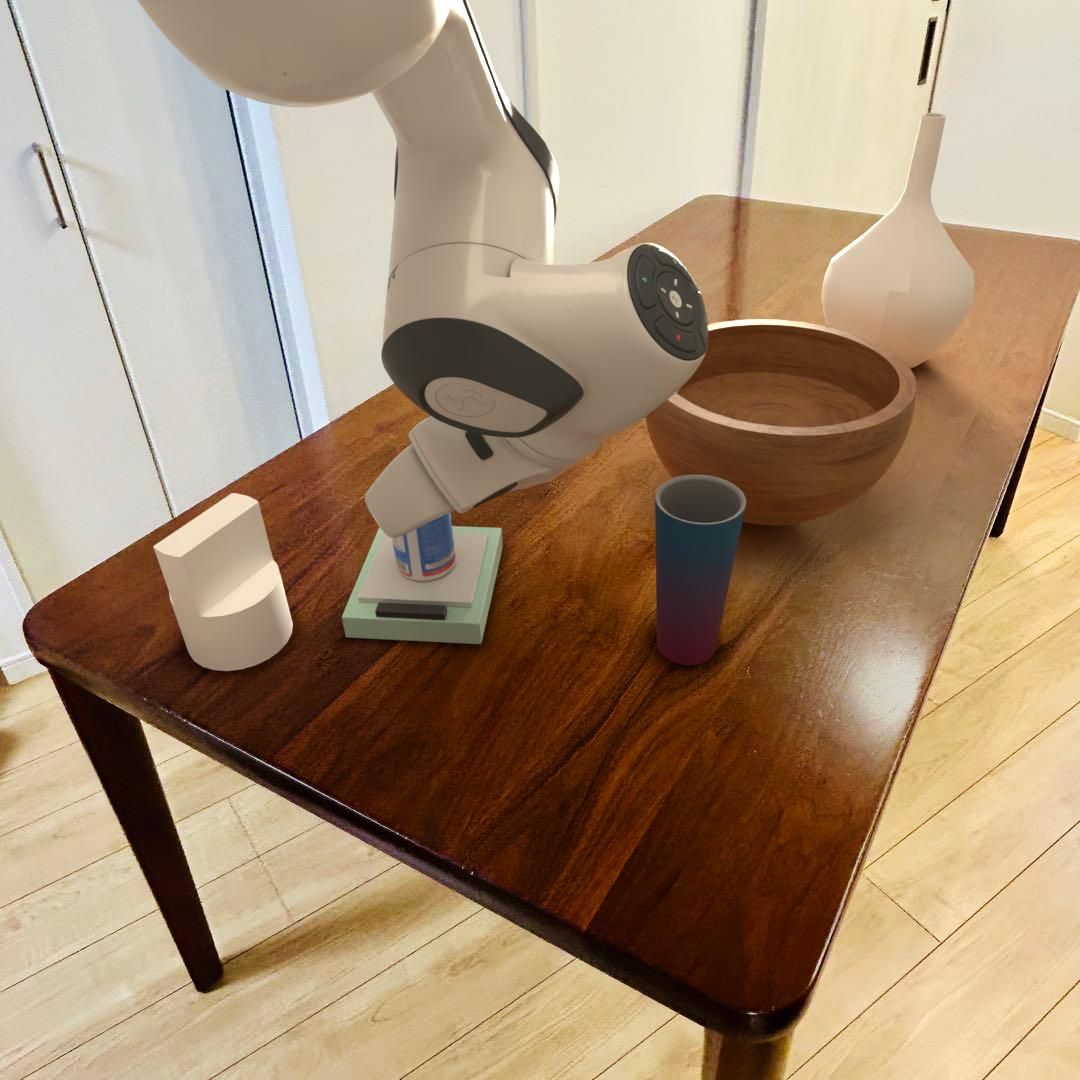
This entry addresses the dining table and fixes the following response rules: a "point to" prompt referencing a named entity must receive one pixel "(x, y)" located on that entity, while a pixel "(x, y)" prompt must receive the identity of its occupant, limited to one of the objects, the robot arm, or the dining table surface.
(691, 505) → the cup
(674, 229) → the dining table surface
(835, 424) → the bowl
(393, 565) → the scale
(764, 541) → the dining table surface
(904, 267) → the vase
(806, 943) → the dining table surface
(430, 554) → the pill bottle
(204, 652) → the base with upright slab
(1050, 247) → the dining table surface
